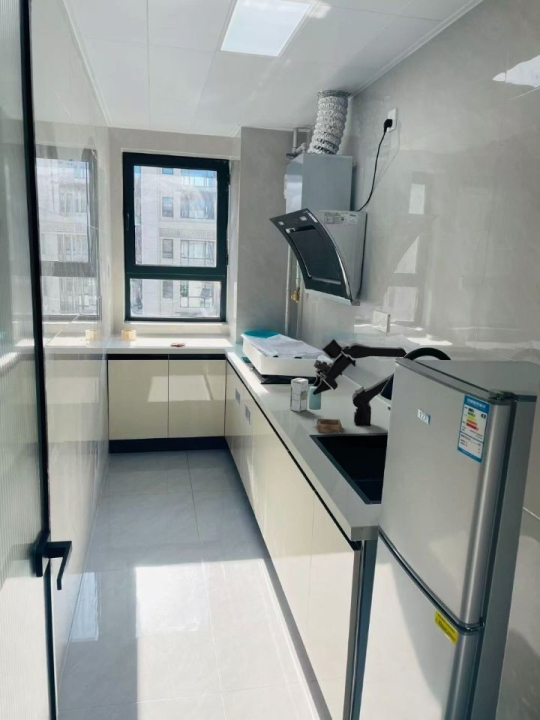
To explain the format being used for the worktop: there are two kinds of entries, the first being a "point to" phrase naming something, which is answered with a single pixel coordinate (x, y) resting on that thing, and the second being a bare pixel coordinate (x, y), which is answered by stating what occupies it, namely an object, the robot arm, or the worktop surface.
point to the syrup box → (299, 394)
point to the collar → (329, 425)
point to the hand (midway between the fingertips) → (312, 392)
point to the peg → (314, 399)
